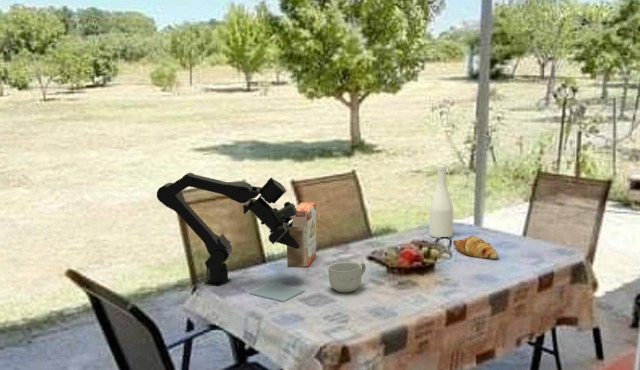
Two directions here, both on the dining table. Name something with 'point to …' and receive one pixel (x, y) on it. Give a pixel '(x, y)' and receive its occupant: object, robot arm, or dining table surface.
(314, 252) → the cracker box
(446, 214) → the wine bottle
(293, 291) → the slate mat
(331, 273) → the teacup
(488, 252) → the croissant
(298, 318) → the dining table surface
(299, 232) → the walnut block
